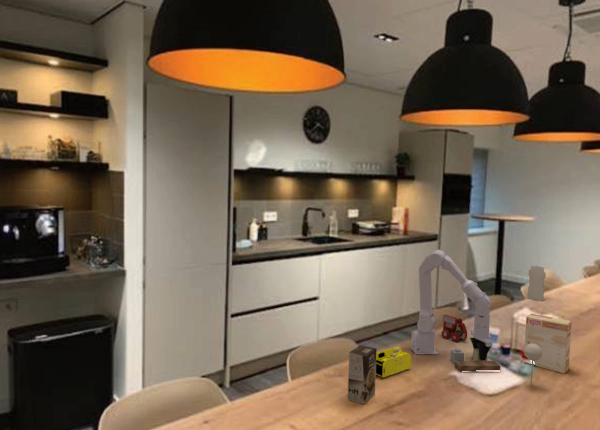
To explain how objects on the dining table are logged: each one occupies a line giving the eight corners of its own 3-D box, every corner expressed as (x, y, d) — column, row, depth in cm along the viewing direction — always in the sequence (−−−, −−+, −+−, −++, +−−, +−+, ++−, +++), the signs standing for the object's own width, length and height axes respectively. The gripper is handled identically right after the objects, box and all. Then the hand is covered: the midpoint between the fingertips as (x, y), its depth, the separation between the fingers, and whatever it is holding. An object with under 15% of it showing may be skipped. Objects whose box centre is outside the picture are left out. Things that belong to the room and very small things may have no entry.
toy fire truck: (461, 344, 207) (462, 321, 207) (438, 336, 217) (439, 315, 216) (470, 341, 212) (471, 319, 211) (446, 334, 221) (447, 312, 221)
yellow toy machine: (399, 365, 182) (400, 344, 181) (411, 370, 177) (412, 349, 177) (371, 374, 172) (372, 353, 171) (383, 380, 167) (384, 357, 167)
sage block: (477, 363, 185) (477, 350, 185) (472, 359, 189) (473, 347, 189) (486, 363, 186) (487, 350, 185) (482, 359, 190) (483, 347, 189)
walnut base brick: (459, 372, 176) (460, 365, 176) (454, 366, 181) (454, 360, 181) (500, 372, 177) (500, 365, 176) (494, 366, 182) (494, 360, 181)
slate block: (454, 364, 184) (454, 351, 183) (450, 360, 188) (450, 348, 187) (463, 364, 184) (464, 351, 184) (459, 360, 188) (460, 348, 188)
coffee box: (364, 405, 148) (366, 356, 147) (346, 399, 151) (348, 352, 150) (375, 394, 155) (377, 347, 154) (358, 389, 159) (360, 344, 158)
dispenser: (525, 298, 297) (527, 264, 295) (528, 297, 299) (530, 264, 298) (542, 301, 289) (544, 267, 287) (545, 301, 291) (547, 266, 290)
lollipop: (533, 389, 162) (535, 348, 161) (518, 382, 167) (520, 342, 166) (544, 386, 165) (546, 345, 164) (529, 379, 170) (531, 340, 169)
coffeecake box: (569, 368, 181) (572, 320, 180) (564, 374, 176) (567, 324, 175) (528, 358, 192) (531, 312, 190) (523, 363, 186) (526, 316, 185)
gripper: (500, 330, 179) (498, 364, 180) (483, 319, 194) (481, 351, 195) (482, 330, 179) (480, 364, 180) (466, 319, 193) (465, 351, 194)
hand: (480, 357), depth 187 cm, fingers closed on sage block, 4 cm apart
